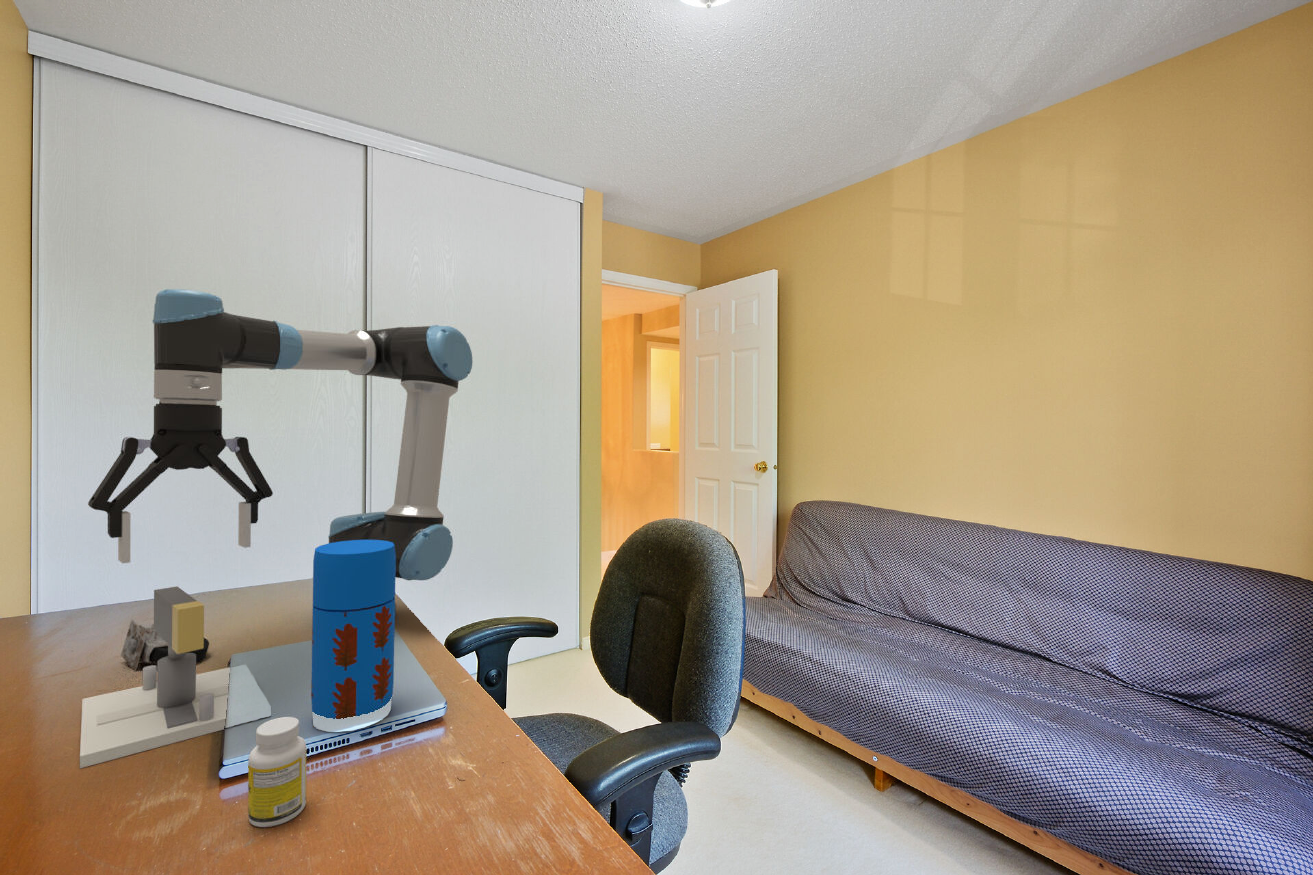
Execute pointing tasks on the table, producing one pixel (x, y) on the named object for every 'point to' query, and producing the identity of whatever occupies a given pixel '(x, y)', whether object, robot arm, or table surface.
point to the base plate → (154, 711)
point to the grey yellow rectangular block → (178, 621)
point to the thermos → (353, 627)
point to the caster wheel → (150, 646)
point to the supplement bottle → (277, 773)
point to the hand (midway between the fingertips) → (188, 553)
